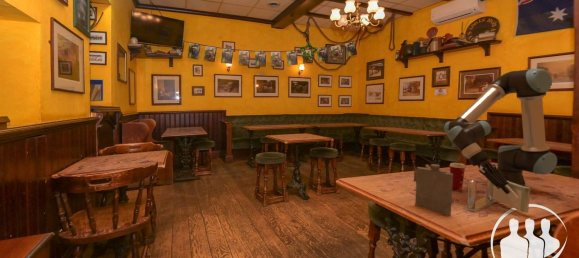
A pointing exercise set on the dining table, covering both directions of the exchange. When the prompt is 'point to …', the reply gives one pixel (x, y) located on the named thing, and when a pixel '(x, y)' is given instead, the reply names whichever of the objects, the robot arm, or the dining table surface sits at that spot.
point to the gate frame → (480, 203)
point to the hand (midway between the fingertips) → (515, 199)
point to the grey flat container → (416, 172)
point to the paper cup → (457, 175)
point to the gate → (519, 203)
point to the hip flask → (434, 189)
